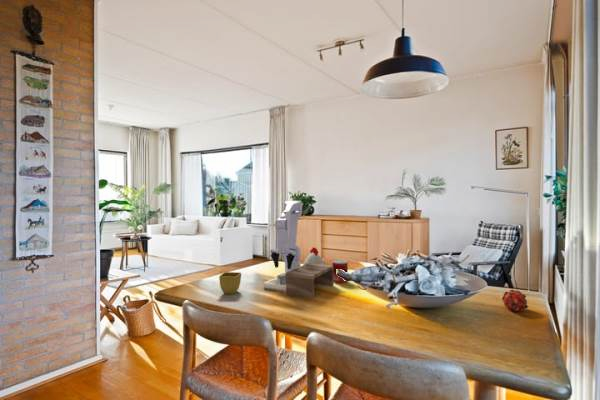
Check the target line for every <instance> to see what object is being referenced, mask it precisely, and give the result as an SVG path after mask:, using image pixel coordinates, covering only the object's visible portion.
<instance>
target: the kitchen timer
mask: <svg viewBox="0 0 600 400" xmlns="http://www.w3.org/2000/svg"><path fill="white" fill-rule="evenodd" d="M309 251H310V252H309V253H310V254H308V256H307V257H305V260H304V261H303V265H306V264H308V263H314V264H324V265H326V261H325V259H324V258H322V256H321V255H320V254H319V250H318V248H316V247H312V248H311V250H309ZM303 265H302V266H303Z"/></svg>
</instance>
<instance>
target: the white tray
mask: <svg viewBox="0 0 600 400" xmlns="http://www.w3.org/2000/svg"><path fill="white" fill-rule="evenodd" d="M263 289H265V290H270V291H277V292H282V291H283V292H284V293H286V273H285V272H282V273H281V274H280V273H279V274H278V275H277V276H276V277H273V278H272V279H270V280H267V281H264V282H263Z"/></svg>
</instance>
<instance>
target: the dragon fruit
mask: <svg viewBox="0 0 600 400" xmlns="http://www.w3.org/2000/svg"><path fill="white" fill-rule="evenodd" d="M526 298H527V295H526V294H524V293H523V292H521V291H520V290H514V289H510V290H509V291H505V292H504V293H503V296H502V298H501V300H502V303H503V305H504V307H506V308H507V310H508V311H510V312H515V311H517V312H521V311H523V310H525V309H529V305H528V300H527V299H526Z"/></svg>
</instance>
